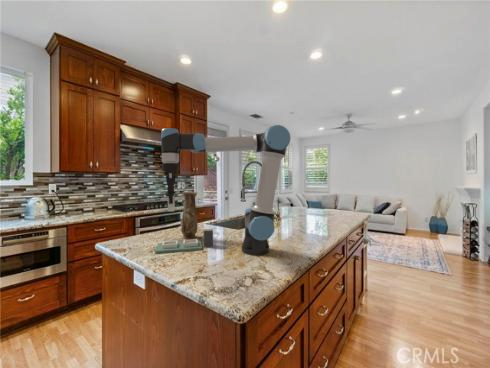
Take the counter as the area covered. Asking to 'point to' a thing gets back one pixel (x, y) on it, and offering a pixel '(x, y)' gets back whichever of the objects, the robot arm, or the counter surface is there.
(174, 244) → the board
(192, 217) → the vase
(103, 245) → the counter surface
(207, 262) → the counter surface
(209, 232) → the plug
